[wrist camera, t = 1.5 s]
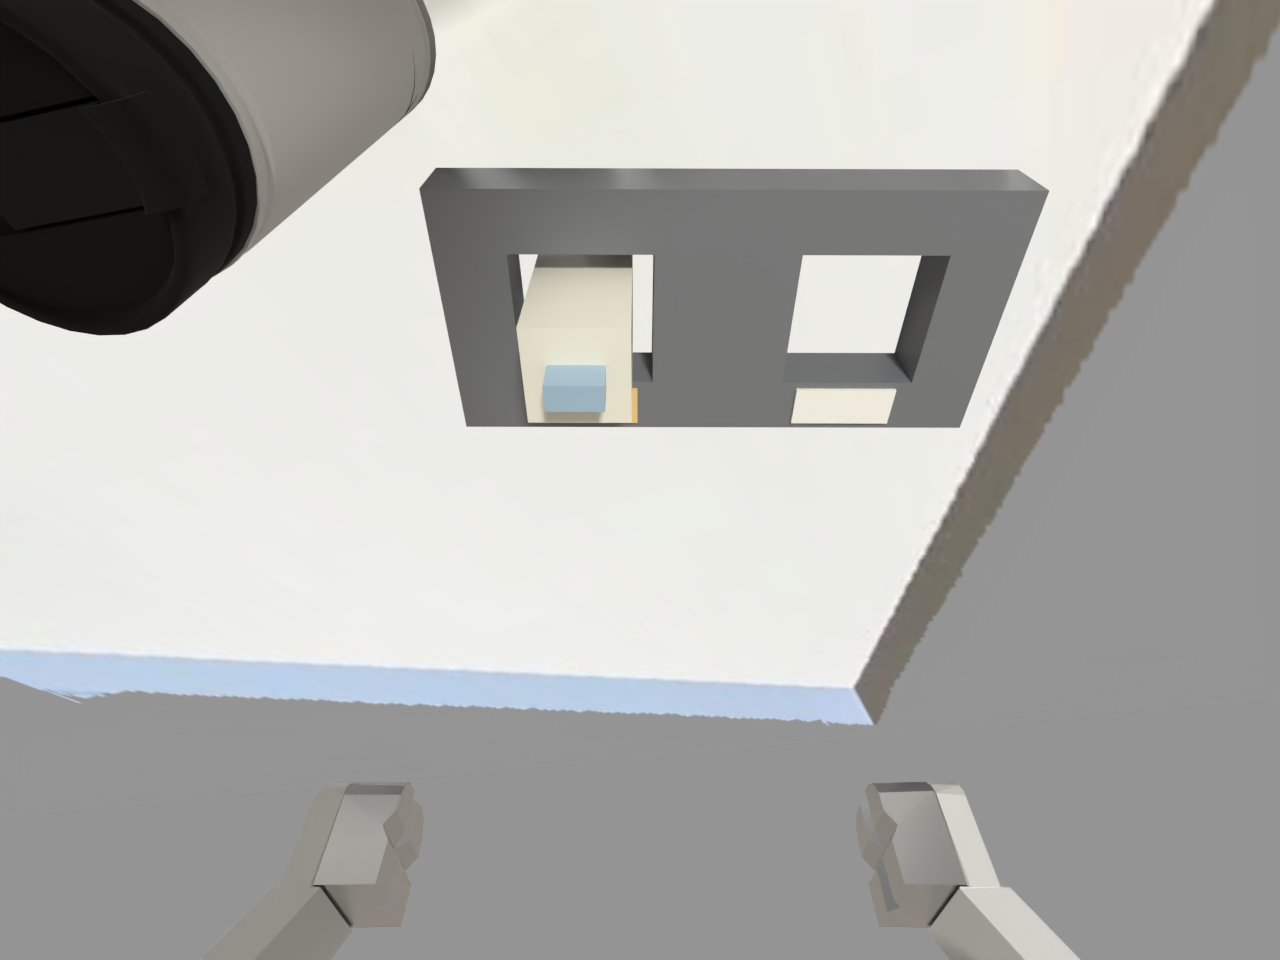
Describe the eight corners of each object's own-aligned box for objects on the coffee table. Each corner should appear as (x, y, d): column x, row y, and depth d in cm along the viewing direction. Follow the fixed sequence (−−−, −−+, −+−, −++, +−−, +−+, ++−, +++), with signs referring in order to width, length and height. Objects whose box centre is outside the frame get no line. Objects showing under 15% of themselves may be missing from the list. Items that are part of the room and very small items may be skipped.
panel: (436, 167, 30) (417, 189, 28) (1018, 169, 30) (1051, 192, 28) (476, 395, 38) (465, 428, 35) (940, 396, 38) (961, 429, 35)
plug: (539, 250, 32) (510, 348, 25) (632, 250, 32) (630, 348, 25) (547, 334, 35) (523, 444, 28) (632, 335, 35) (631, 444, 28)
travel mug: (467, 103, 28) (266, 324, 13) (322, 134, 29) (-29, 378, 14) (408, -87, 24) (20, -92, 9) (242, -45, 25) (-373, 15, 10)
